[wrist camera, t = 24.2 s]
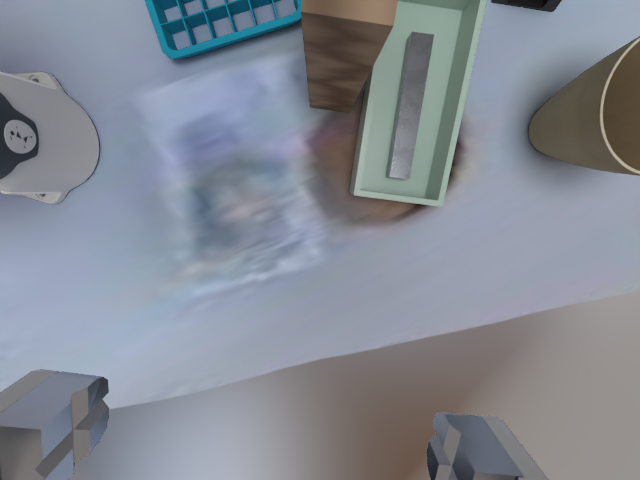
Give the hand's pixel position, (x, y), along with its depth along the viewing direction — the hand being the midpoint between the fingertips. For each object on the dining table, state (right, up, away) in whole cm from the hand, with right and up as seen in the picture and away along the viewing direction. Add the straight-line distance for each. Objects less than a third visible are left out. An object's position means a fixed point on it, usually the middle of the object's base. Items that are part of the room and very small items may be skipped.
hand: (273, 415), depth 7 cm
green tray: (+14, +24, +37) cm, 46 cm away
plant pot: (+37, +22, +38) cm, 57 cm away
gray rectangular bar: (+14, +23, +36) cm, 45 cm away
